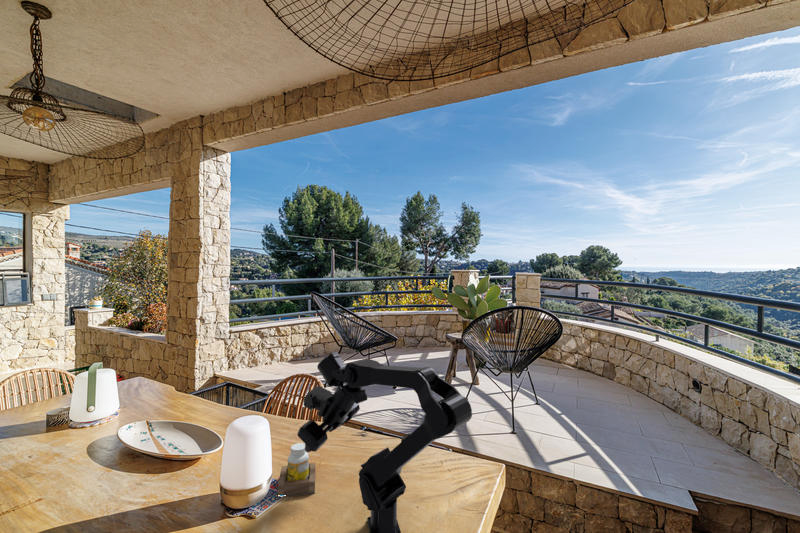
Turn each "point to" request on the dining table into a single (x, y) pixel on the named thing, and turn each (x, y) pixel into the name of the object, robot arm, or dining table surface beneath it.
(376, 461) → the robot arm
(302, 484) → the socket block
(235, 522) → the dining table surface
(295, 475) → the supplement bottle
